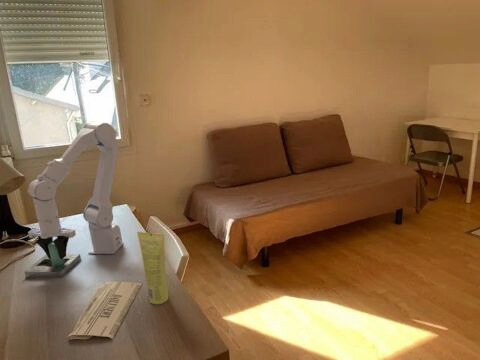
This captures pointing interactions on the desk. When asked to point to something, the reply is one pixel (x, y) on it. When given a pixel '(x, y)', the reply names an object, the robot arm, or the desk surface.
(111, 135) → the robot arm
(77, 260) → the keyhole plate
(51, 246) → the peg
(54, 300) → the desk surface
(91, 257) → the desk surface
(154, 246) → the tube
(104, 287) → the newspaper
